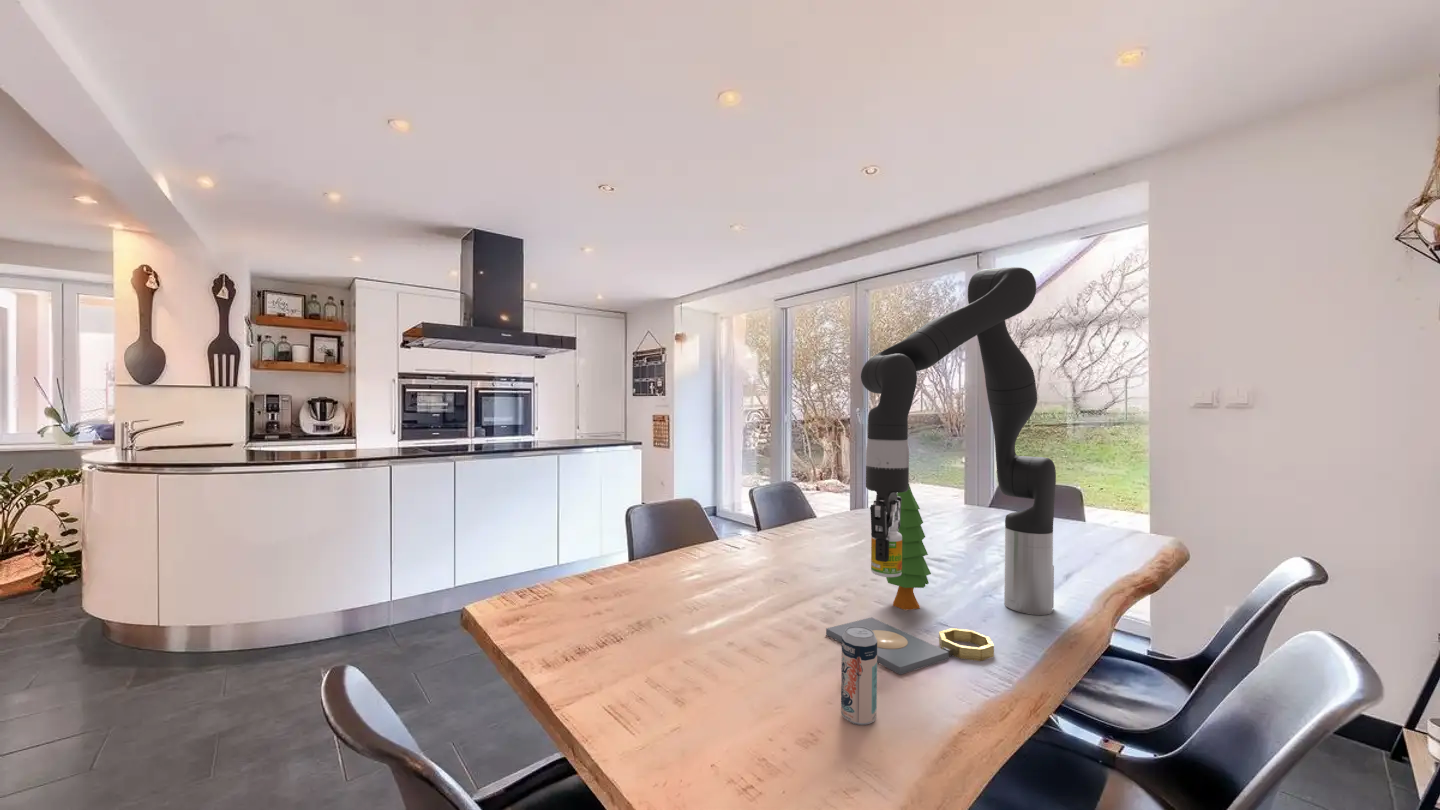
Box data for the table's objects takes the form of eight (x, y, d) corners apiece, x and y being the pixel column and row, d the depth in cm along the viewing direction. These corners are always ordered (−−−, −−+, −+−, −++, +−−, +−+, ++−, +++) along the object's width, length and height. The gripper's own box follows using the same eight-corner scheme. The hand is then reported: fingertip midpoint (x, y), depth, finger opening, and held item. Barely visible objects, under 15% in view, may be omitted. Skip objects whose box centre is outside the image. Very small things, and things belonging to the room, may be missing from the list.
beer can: (836, 709, 79) (837, 625, 79) (869, 708, 79) (870, 624, 80) (847, 728, 74) (848, 639, 74) (881, 727, 75) (882, 638, 75)
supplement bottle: (882, 579, 97) (882, 523, 97) (865, 570, 102) (865, 517, 102) (908, 576, 99) (908, 522, 99) (889, 568, 104) (890, 516, 104)
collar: (964, 634, 106) (964, 624, 106) (1006, 652, 98) (1006, 641, 98) (925, 646, 100) (925, 635, 100) (967, 666, 93) (967, 654, 93)
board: (871, 623, 111) (871, 616, 111) (948, 658, 96) (948, 651, 96) (826, 634, 105) (826, 627, 105) (900, 674, 90) (900, 666, 90)
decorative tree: (876, 603, 123) (878, 468, 123) (899, 594, 129) (901, 466, 129) (916, 616, 115) (918, 472, 116) (939, 606, 121) (940, 470, 122)
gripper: (899, 469, 92) (898, 570, 92) (916, 462, 105) (915, 551, 105) (855, 466, 96) (854, 563, 96) (876, 460, 109) (875, 546, 109)
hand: (886, 556), depth 100 cm, fingers closed on supplement bottle, 5 cm apart
